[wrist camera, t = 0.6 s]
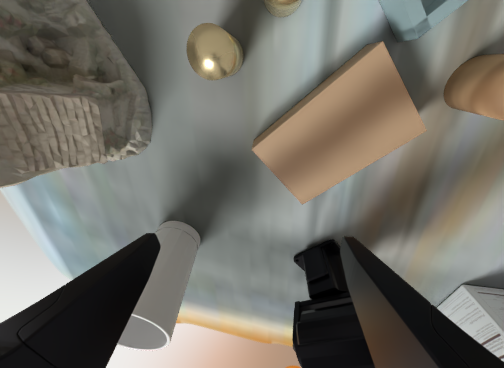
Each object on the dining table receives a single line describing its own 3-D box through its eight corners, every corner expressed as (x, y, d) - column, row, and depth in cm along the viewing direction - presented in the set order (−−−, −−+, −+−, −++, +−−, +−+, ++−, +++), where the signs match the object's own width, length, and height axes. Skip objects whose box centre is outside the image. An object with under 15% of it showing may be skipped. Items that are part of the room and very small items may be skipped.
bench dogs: (312, -8, 14) (330, -39, 10) (226, 84, 18) (211, 90, 14) (287, -53, 13) (295, -108, 9) (201, 54, 17) (177, 51, 13)
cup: (163, 206, 26) (93, 298, 16) (215, 234, 28) (183, 333, 18) (144, 239, 30) (78, 331, 20) (191, 262, 32) (153, 357, 21)
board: (405, 121, 19) (426, 130, 16) (299, 189, 23) (302, 204, 21) (365, 44, 16) (383, 41, 13) (254, 139, 21) (251, 149, 18)
